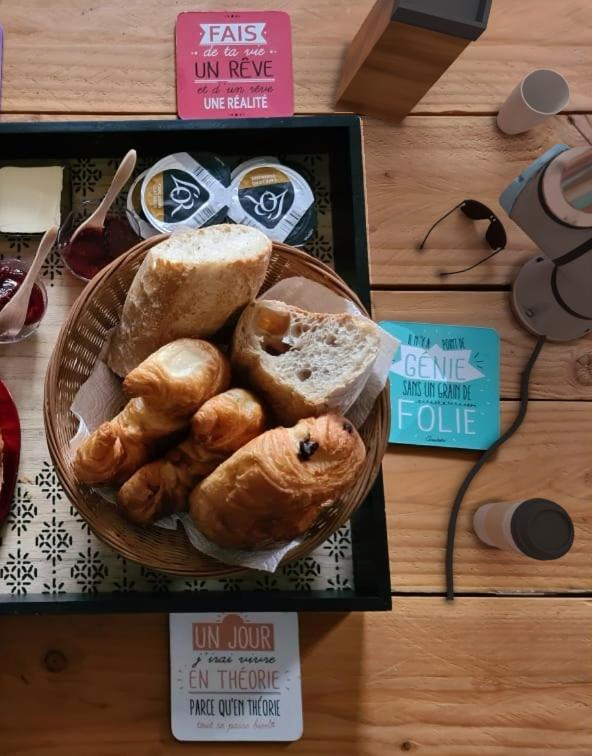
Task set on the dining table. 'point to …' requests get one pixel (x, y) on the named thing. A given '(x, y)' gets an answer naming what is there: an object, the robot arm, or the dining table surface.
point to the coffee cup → (526, 528)
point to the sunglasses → (494, 232)
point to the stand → (393, 65)
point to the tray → (445, 16)
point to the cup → (534, 101)
